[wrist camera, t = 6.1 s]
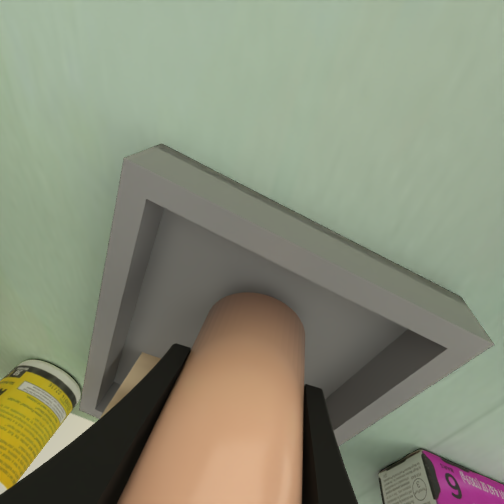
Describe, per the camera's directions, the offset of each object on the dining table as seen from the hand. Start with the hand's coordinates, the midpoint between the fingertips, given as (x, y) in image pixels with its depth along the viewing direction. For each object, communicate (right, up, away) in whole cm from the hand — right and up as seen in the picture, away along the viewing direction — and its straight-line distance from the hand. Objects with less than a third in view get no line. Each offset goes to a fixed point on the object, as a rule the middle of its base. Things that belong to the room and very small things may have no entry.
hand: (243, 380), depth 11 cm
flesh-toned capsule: (0, +1, +2) cm, 2 cm away
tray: (-1, -1, +5) cm, 5 cm away
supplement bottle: (-16, -5, +12) cm, 20 cm away
